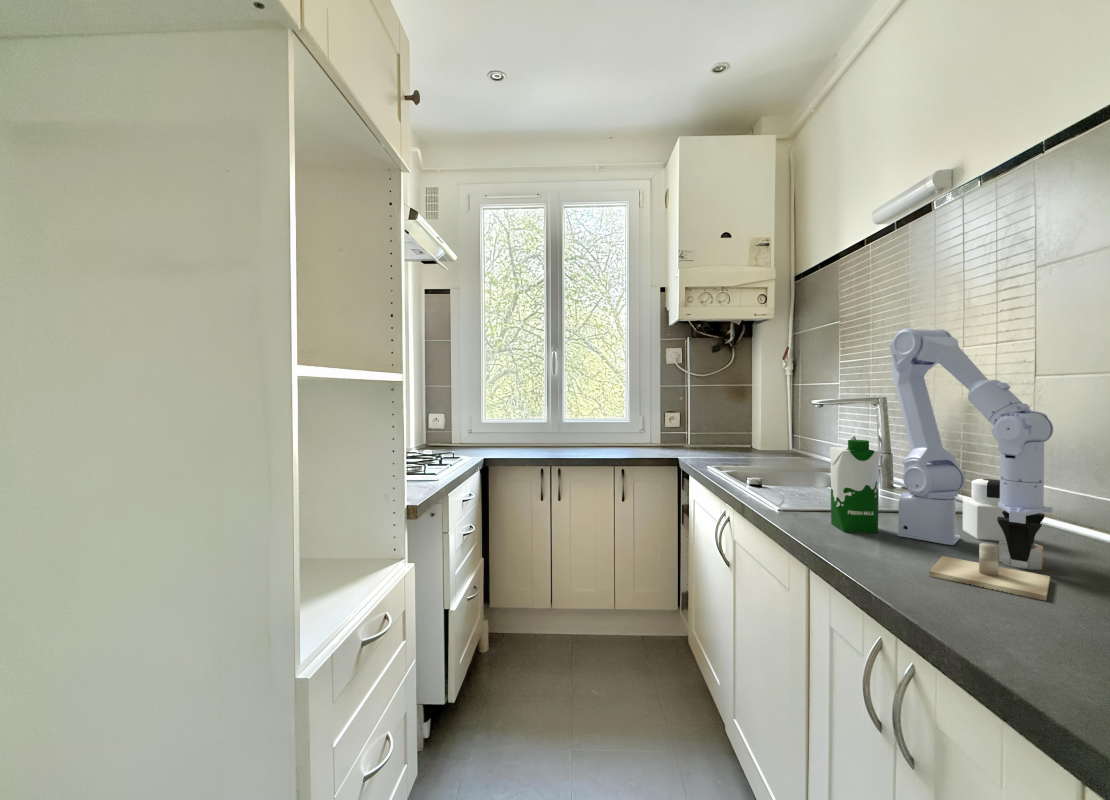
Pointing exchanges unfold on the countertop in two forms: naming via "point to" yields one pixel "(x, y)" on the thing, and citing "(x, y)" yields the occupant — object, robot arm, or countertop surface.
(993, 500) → the medicine bottle
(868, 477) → the milk carton
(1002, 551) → the collar
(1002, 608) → the countertop surface
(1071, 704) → the countertop surface
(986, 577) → the duct board
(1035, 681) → the countertop surface
